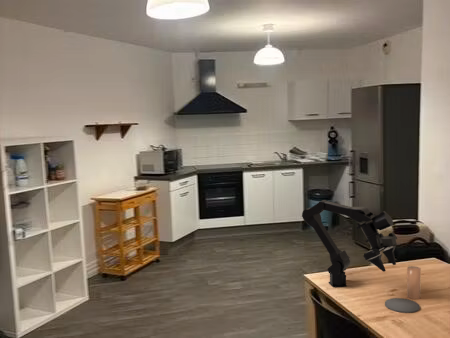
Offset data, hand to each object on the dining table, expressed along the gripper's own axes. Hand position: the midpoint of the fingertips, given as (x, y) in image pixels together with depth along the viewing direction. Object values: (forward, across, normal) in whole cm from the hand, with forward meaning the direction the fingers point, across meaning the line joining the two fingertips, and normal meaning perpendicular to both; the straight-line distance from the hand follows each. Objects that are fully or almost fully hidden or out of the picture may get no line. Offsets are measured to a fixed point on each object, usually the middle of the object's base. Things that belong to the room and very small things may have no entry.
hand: (389, 268), depth 191 cm
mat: (+14, -8, -2) cm, 17 cm away
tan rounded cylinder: (+15, +5, -1) cm, 16 cm away
